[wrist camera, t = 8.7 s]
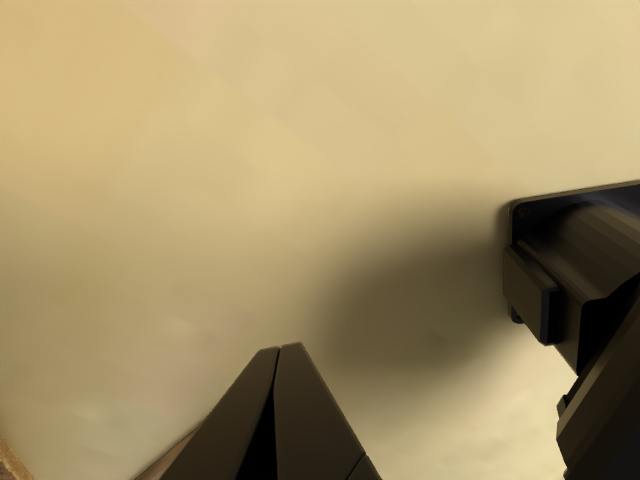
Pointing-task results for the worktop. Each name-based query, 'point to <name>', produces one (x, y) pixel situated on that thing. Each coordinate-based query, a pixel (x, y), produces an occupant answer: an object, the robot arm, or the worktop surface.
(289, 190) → the worktop surface
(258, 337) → the worktop surface
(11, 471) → the shard
